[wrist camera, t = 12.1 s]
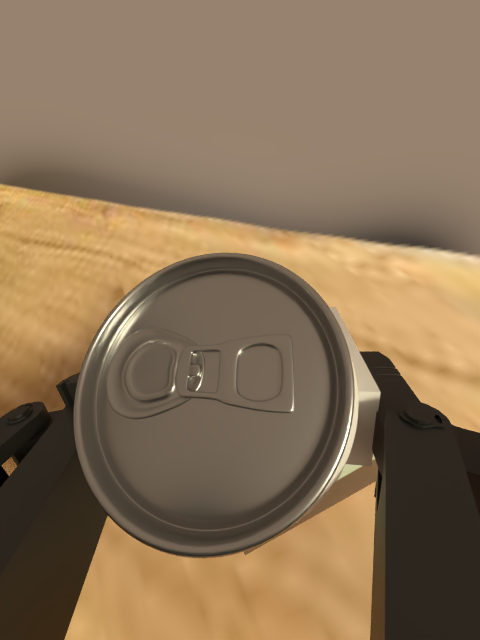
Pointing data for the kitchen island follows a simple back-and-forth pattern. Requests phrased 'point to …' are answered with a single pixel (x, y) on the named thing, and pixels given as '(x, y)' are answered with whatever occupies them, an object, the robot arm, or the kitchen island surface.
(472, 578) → the robot arm
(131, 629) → the kitchen island surface
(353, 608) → the kitchen island surface
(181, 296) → the can
